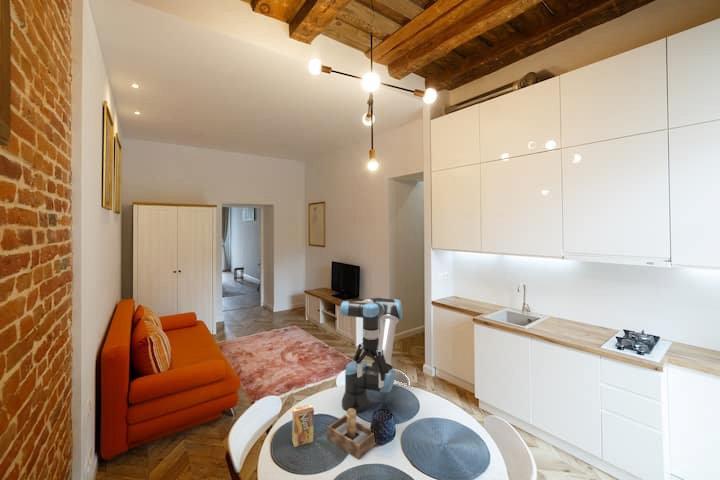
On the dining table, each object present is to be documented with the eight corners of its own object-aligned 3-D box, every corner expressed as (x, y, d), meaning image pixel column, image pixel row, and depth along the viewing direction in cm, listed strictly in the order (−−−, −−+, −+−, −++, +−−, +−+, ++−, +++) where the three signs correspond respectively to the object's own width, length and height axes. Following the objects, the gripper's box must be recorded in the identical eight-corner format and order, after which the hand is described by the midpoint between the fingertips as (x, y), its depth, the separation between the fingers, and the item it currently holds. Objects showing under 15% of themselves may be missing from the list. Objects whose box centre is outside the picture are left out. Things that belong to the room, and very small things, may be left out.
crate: (327, 438, 137) (327, 426, 136) (345, 426, 146) (345, 415, 146) (358, 459, 124) (358, 446, 124) (375, 444, 133) (376, 432, 133)
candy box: (310, 436, 138) (311, 403, 138) (313, 442, 134) (314, 408, 134) (291, 441, 134) (292, 408, 134) (294, 448, 130) (294, 413, 130)
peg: (344, 441, 135) (345, 411, 135) (350, 437, 138) (351, 407, 138) (351, 445, 132) (351, 414, 132) (357, 441, 135) (357, 410, 135)
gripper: (346, 332, 146) (346, 375, 147) (386, 346, 129) (385, 394, 129) (357, 329, 151) (356, 370, 152) (396, 342, 134) (396, 388, 135)
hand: (370, 381), depth 141 cm, fingers open, 13 cm apart
